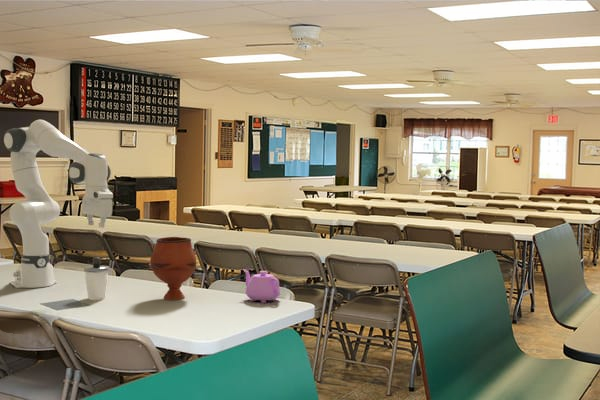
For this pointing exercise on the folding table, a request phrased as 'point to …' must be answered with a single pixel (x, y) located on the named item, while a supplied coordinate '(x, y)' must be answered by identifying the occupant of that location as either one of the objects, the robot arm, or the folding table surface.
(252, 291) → the teapot
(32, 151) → the robot arm
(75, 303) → the mat
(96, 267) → the lid
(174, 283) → the goblet
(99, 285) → the cup
